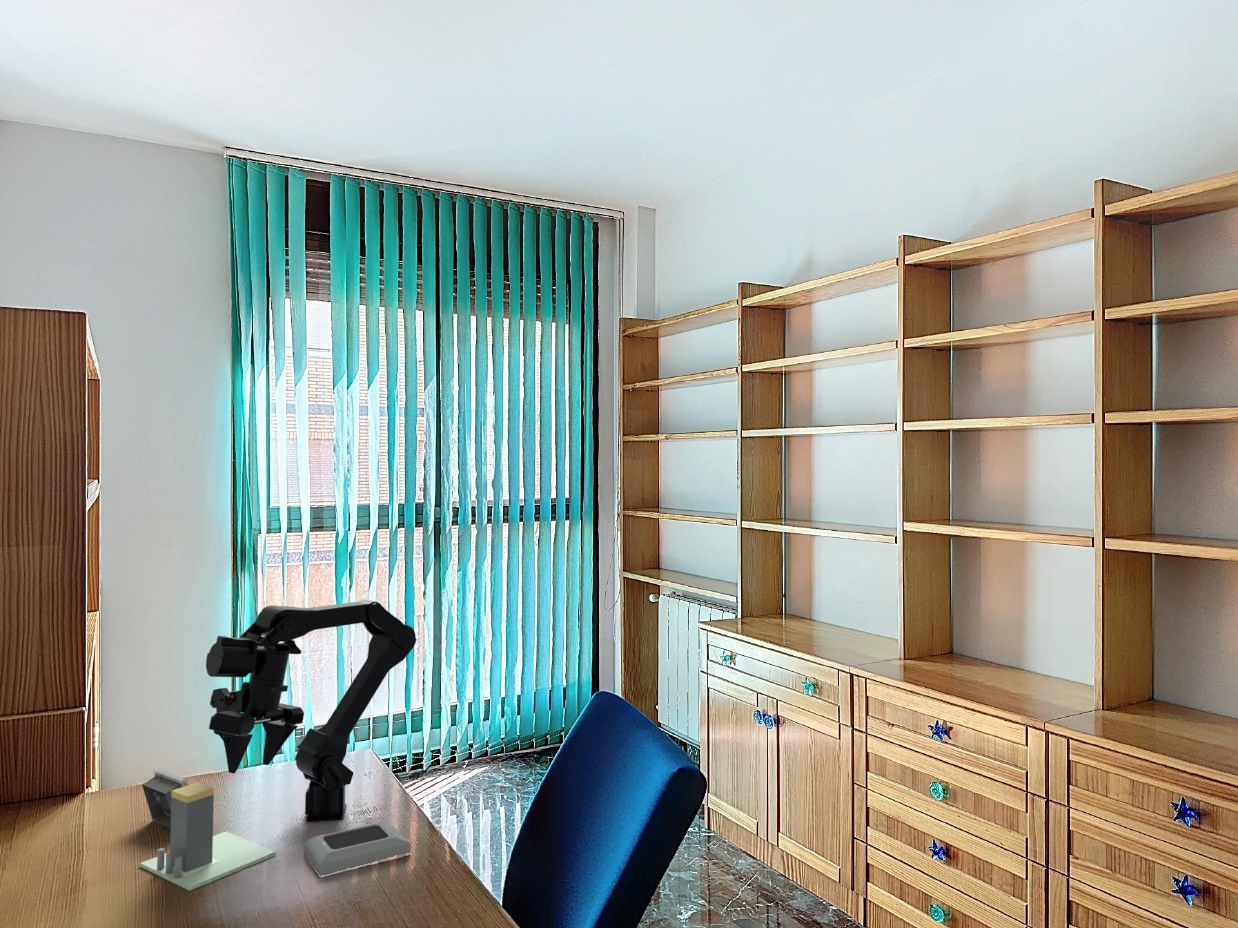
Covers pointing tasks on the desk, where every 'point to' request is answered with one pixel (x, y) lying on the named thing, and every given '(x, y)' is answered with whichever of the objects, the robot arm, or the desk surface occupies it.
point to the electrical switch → (162, 795)
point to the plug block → (192, 825)
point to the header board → (225, 860)
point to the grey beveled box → (355, 847)
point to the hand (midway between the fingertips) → (249, 768)
